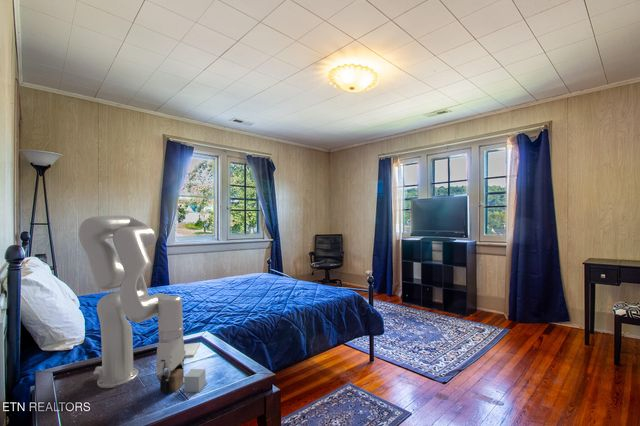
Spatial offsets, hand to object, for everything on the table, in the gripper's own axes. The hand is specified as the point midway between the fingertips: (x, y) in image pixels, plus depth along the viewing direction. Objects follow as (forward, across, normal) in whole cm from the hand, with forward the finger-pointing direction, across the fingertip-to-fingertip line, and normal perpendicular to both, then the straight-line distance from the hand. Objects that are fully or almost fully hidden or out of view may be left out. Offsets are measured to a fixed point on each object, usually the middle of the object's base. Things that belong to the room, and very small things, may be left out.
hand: (172, 385), depth 107 cm
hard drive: (+2, -29, -10) cm, 31 cm away
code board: (+1, 0, +4) cm, 4 cm away
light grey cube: (+1, 0, +8) cm, 8 cm away
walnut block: (+1, 0, 0) cm, 1 cm away
